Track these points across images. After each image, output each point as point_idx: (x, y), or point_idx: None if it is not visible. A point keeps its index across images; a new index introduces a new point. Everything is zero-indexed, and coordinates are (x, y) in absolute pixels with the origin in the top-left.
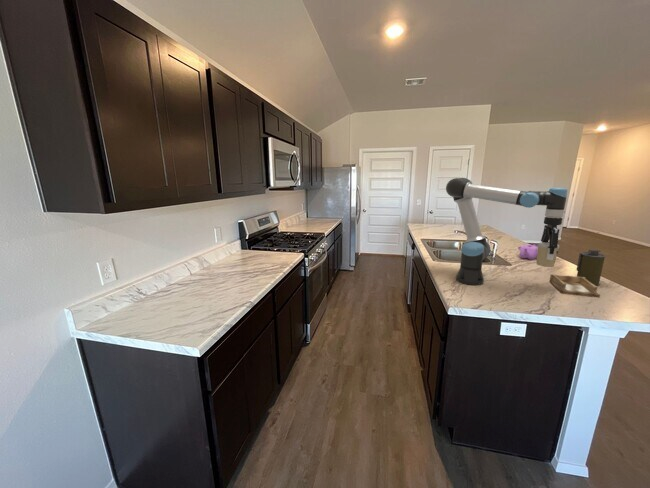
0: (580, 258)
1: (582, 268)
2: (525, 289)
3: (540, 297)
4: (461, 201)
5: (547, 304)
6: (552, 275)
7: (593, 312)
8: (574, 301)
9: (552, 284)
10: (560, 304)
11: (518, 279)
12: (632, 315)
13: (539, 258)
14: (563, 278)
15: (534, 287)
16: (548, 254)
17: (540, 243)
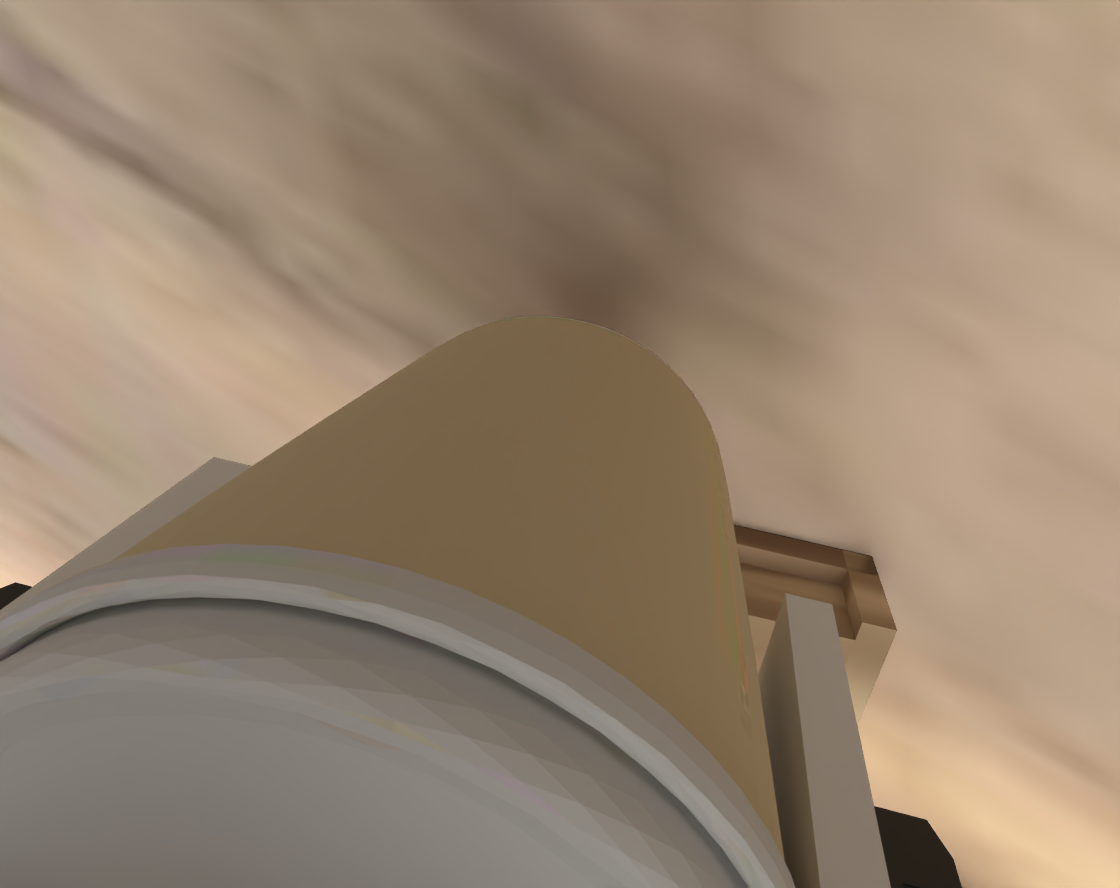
0: None
1: None
2: (515, 48)
3: (243, 126)
4: None
5: (36, 99)
6: (855, 631)
7: (14, 456)
8: (238, 455)
9: (748, 532)
10: (96, 258)
11: (1021, 151)
12: None
13: (420, 365)
14: None
15: (626, 237)
16: (101, 558)
17: (487, 828)
